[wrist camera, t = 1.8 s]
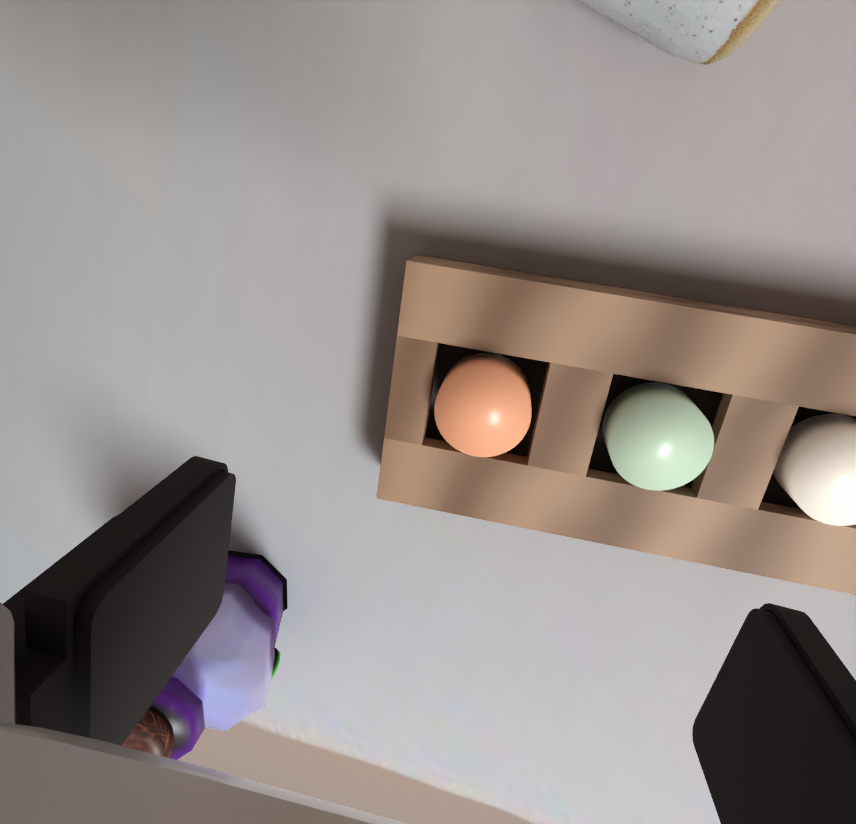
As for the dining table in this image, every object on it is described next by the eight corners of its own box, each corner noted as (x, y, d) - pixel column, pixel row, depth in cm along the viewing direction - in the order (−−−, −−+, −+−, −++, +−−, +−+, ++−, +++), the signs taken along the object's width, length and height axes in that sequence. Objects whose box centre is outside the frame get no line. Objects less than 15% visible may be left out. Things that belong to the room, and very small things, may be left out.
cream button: (892, 423, 26) (926, 444, 24) (852, 507, 28) (881, 534, 26) (791, 405, 27) (815, 424, 25) (758, 489, 28) (778, 514, 26)
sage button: (710, 391, 27) (727, 408, 25) (682, 475, 29) (696, 499, 27) (615, 374, 28) (623, 390, 25) (592, 458, 29) (598, 480, 27)
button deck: (960, 343, 26) (1012, 360, 24) (853, 564, 31) (886, 600, 28) (417, 254, 29) (406, 260, 26) (388, 472, 33) (376, 497, 30)
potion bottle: (284, 663, 39) (190, 851, 28) (167, 605, 39) (24, 770, 28) (334, 569, 36) (249, 738, 25) (206, 505, 35) (62, 646, 24)
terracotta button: (539, 361, 28) (540, 375, 26) (520, 445, 29) (520, 465, 27) (448, 345, 28) (441, 358, 26) (435, 428, 30) (428, 447, 28)
